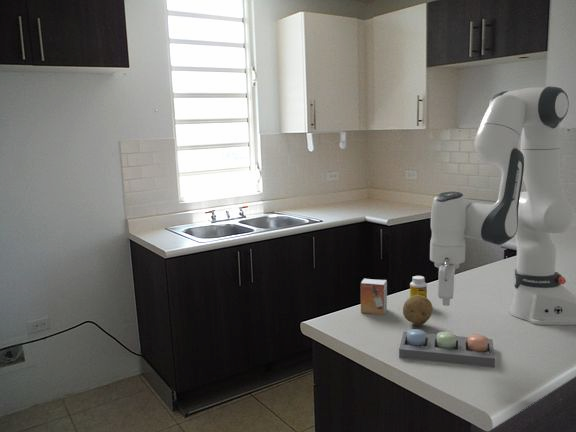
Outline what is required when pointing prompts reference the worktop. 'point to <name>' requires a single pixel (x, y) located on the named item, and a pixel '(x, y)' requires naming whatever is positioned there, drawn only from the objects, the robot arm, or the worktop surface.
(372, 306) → the small box
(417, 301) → the natural sponge
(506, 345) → the worktop surface
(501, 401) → the worktop surface
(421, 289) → the supplement bottle
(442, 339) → the sage button
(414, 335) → the slate blue button
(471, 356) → the button panel
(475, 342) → the terracotta button
